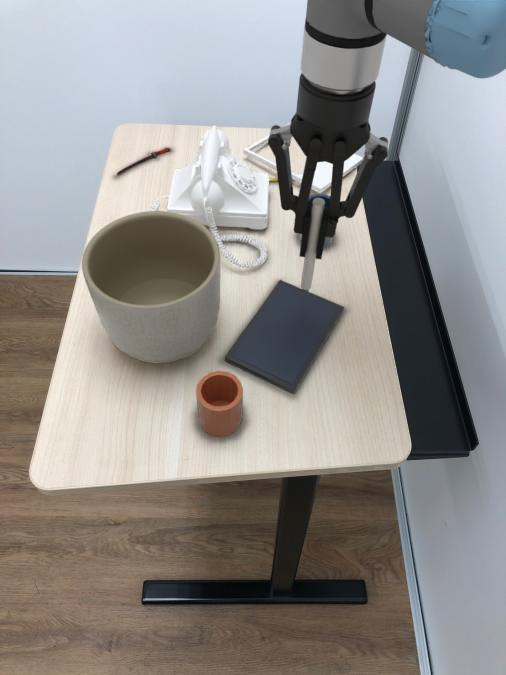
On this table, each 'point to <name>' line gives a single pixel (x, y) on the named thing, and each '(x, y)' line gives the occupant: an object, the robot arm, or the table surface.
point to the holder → (327, 203)
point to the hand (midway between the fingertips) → (311, 250)
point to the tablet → (285, 336)
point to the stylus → (312, 243)
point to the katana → (145, 159)
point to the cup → (220, 403)
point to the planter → (155, 284)
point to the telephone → (221, 193)
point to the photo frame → (320, 177)
